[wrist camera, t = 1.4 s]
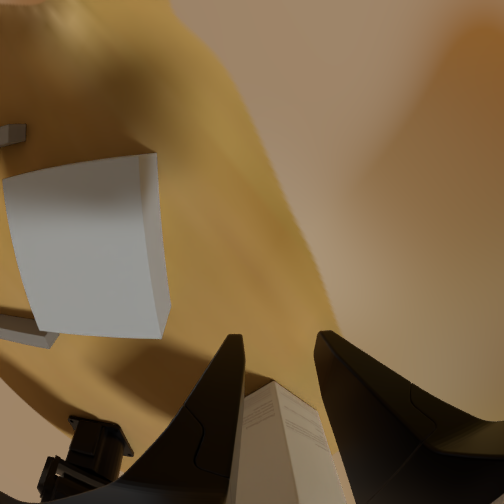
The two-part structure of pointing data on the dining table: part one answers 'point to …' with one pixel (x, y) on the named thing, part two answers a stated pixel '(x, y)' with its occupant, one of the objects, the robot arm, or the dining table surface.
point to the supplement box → (284, 452)
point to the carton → (92, 246)
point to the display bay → (10, 325)
